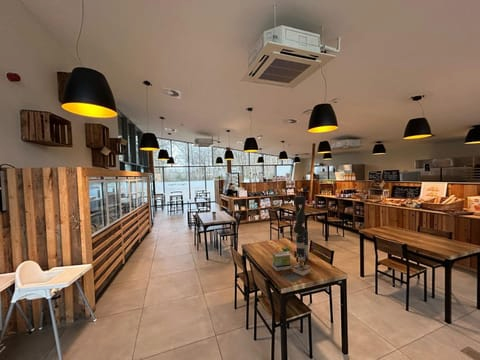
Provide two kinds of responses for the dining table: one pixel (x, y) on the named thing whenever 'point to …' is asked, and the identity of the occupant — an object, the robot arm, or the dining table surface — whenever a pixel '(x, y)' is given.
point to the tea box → (281, 261)
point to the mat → (291, 277)
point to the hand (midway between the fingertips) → (301, 263)
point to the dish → (301, 271)
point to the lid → (301, 266)
